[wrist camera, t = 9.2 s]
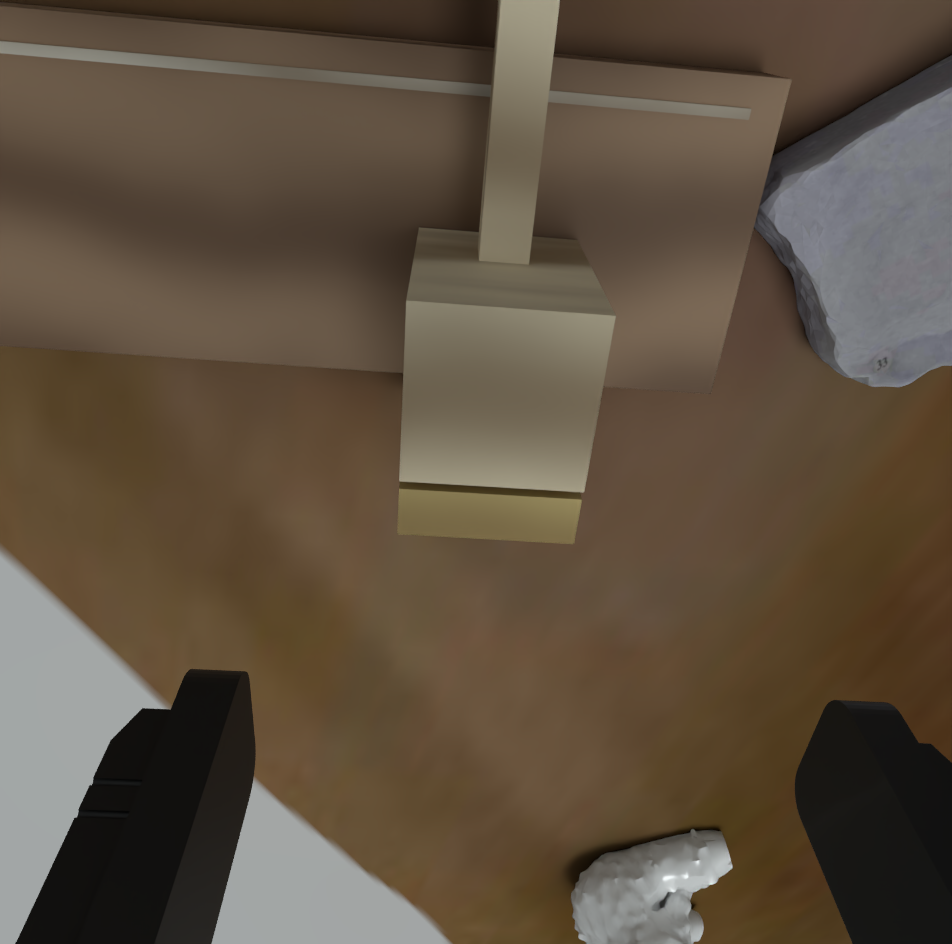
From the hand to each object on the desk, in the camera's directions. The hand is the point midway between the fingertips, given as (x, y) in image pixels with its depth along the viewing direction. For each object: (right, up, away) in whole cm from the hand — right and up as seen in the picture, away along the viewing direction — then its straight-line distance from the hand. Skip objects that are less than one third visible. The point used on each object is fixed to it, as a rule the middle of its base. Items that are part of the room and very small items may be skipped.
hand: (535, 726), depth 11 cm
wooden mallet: (0, +13, +15) cm, 20 cm away
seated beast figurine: (+9, -20, +36) cm, 42 cm away
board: (-6, +13, +15) cm, 21 cm away
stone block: (+15, +13, +17) cm, 26 cm away
